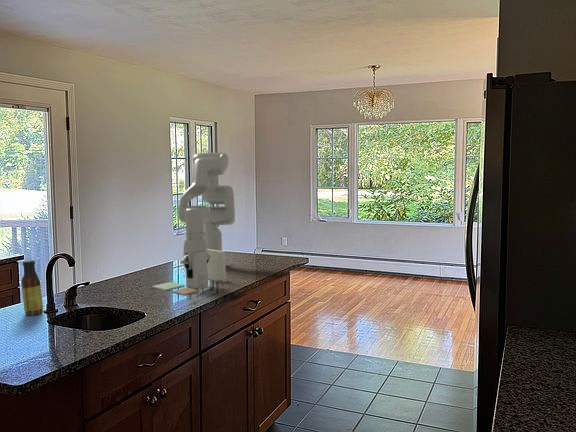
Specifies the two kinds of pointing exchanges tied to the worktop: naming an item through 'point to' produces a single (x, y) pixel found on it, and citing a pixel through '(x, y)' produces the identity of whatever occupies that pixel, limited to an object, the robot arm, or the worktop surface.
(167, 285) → the green pad
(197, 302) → the worktop surface
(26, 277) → the sauce bottle
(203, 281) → the skincare box
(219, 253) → the screen
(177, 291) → the terracotta tile
